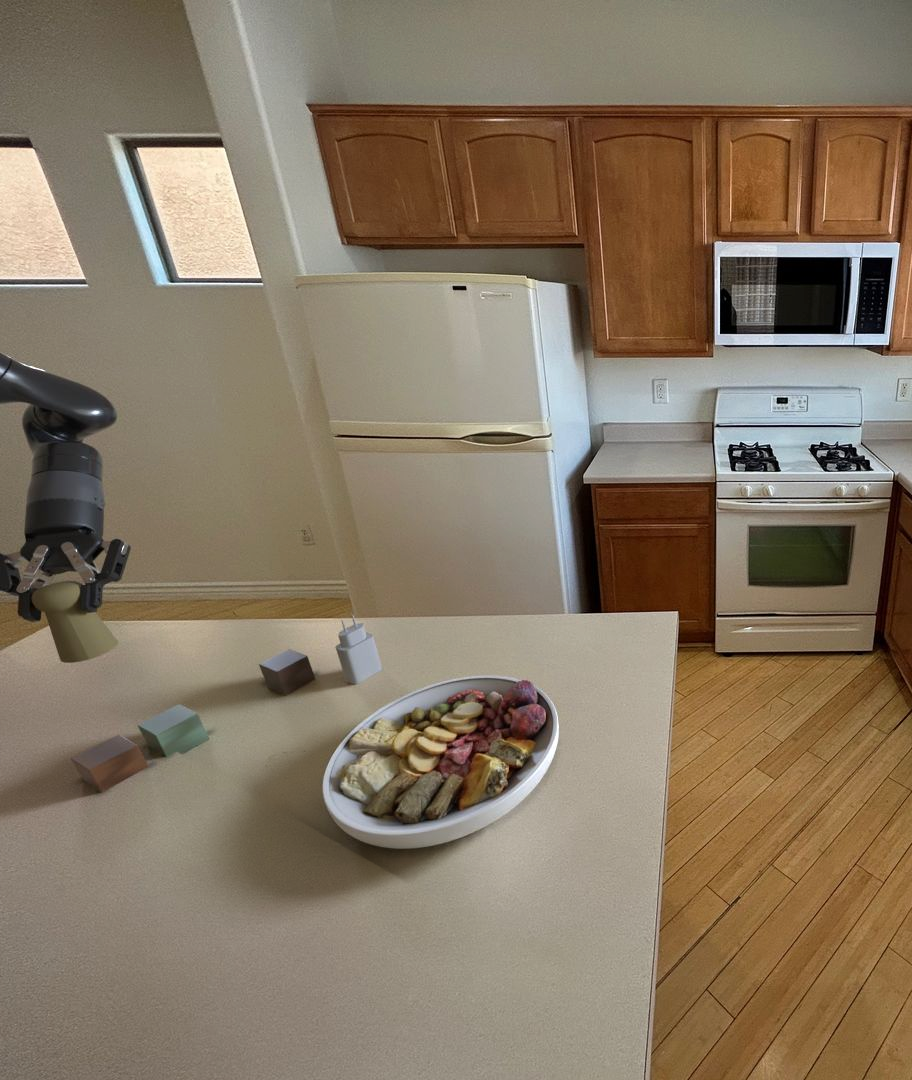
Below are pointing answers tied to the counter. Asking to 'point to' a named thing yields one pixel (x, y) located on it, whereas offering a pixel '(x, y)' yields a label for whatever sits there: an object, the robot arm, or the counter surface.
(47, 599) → the cork
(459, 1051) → the counter surface
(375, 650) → the power adapter
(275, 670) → the block row
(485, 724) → the bowl
